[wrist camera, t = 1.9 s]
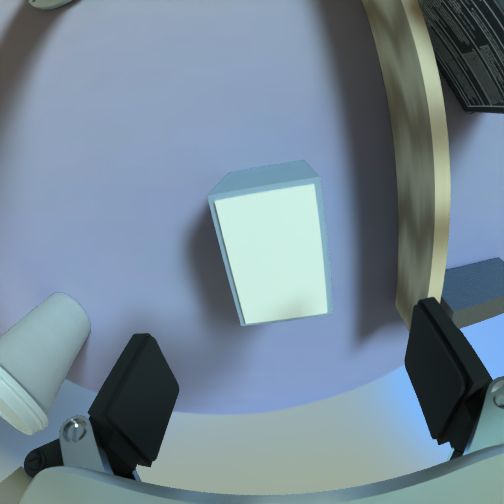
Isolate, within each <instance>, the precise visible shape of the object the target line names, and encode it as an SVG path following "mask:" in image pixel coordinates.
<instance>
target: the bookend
mask: <svg viewBox="0 0 504 504" xmlns="http://www.w3.org/2000/svg"><path fill="white" fill-rule="evenodd" d="M440 305H441V306H442V307H443V309H444V310H445V311H446V313H447V314H448V316H449V317H450V318H451V320H452V321H453V322H454V324H455V325H456V327H457V328H458V329H460V328H463V327H466V326H469V325H472V324H475V323H478V322H481V321H484V320H486V319H489V318H492V317H494V316H497V315H500V314H502V313H504V261H503V260H501V259H500V258H499V257H498V258H494V259H490V260H486V261H482V262H478V263H474V264H470V265H466V266H462V267H457V268H453V269H448V270H445V275H444V282H443V288H442V294H441V300H440Z"/></svg>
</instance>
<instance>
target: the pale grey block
mask: <svg viewBox="0 0 504 504" xmlns="http://www.w3.org/2000/svg"><path fill="white" fill-rule="evenodd" d="M207 198H208V202H209V206H210V210H211V214H212V218H213V222H214V226H215V230H216V234H217V237H218V241H219V245H220V249H221V253H222V257H223V261H224V264H225V268H226V272H227V276H228V279H229V283H230V287H231V291H232V294H233V298H234V301H235V305H236V309H237V312H238V316H239V319H240V323H241V326H249V325H258V324H267V323H275V322H283V321H290V320H298V319H305V318H312V317H318V316H325V315H331V314H333V303H332V287H331V273H330V260H329V249H328V239H327V229H326V220H325V211H324V203H323V195H322V187H321V180H320V176H319V175H318V174H317V173H316V172H315V171H314V170H313V169H312V168H311V167H310V166H309V165H308V163H307V162H306V161H305V160H300V161H293V162H287V163H280V164H274V165H268V166H262V167H257V168H251V169H246V170H241V171H235V172H230V173H228V174H227V175H226V176H225V177H224V178H223V179H222V181H221V182H220V183H219V184H218V185H217V186H216V187H215V188H214V189H213V190H212V191H211V192H210V193H209V195H208V196H207Z"/></svg>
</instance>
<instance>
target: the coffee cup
mask: <svg viewBox="0 0 504 504" xmlns="http://www.w3.org/2000/svg"><path fill="white" fill-rule="evenodd" d="M90 330H91V325H90V321H89V318H88V316H87V314H86V312H85V311H84V309H83V308H82V307H81V306H80V304H79V303H78V302H77V301H75V300H74V299H73V298H72V297H70V296H68V295H66V294H64V293H60V292H57V293H53V294H52V295H51V296H49V297H48V298H47V299H45V300H44V301H43V302H42V303H40V304H39V305H38V306H37V307H35V308H34V309H33V310H32V311H31V312H29V313H28V314H27V315H26V316H24V317H23V318H22V319H21V320H20V321H19V322H17V323H16V324H15V325H14V326H13V327H11V328H10V329H9V330H8V331H7V332H6V333H5V334H3V335H2V336H1V337H0V416H1V417H2V418H4V419H5V420H6V421H7V422H8V423H10V424H11V425H12V426H14V427H15V428H17V429H18V430H20V431H21V432H23V433H25V434H28V435H33V434H34V433H35V432H36V431H40V430H42V429H44V428H45V427H46V426H47V425H48V424H49V422H48V419H47V415H48V412H49V410H50V408H51V406H52V404H53V402H54V399H55V397H56V395H57V393H58V391H59V389H60V387H61V385H62V383H63V381H64V379H65V377H66V375H67V373H68V371H69V369H70V368H71V366H72V364H73V362H74V360H75V358H76V356H77V355H78V353H79V351H80V349H81V347H82V346H83V344H84V342H85V340H86V338H87V337H88V335H89V333H90Z"/></svg>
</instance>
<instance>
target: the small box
mask: <svg viewBox="0 0 504 504" xmlns="http://www.w3.org/2000/svg"><path fill="white" fill-rule="evenodd" d="M418 3H419V6H420V9H421V11H422V14H423V17H424V20H425V23H426V27H427V30H428V33H429V37H430V40H431V44H432V47H433V51H434V55H435V59H436V64H437V66H438V68H439V69H440V71H441V72H442V74H443V75H444V77H445V78H446V80H447V81H448V83H449V85H450V86H451V88H452V90H453V91H454V93H455V95H456V96H457V98H458V100H459V101H460V103H461V105H462V107H463V109H464V110H465V112H467V113H470V114H471V113H475V112H480V113H481V112H484V113H503V114H504V0H418Z"/></svg>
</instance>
